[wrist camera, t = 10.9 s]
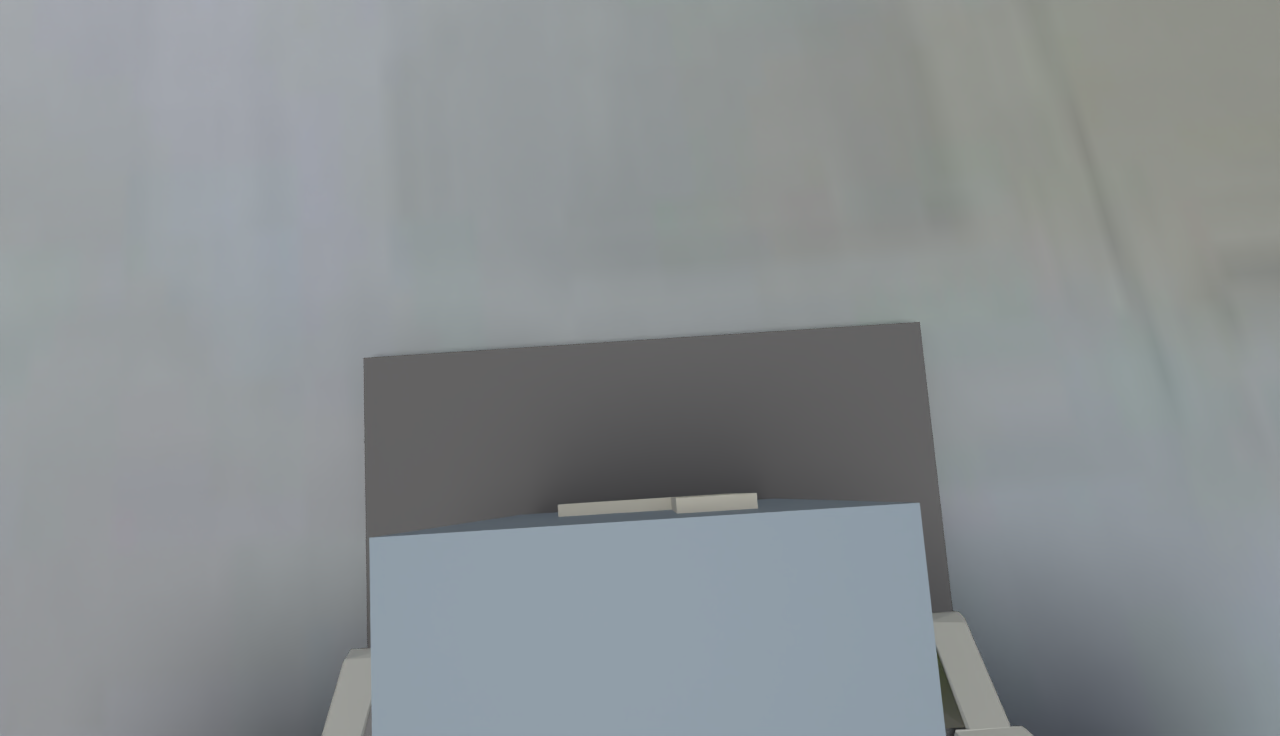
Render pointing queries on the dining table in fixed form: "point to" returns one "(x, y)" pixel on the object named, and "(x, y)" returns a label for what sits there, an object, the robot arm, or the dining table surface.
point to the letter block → (658, 622)
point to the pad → (653, 428)
